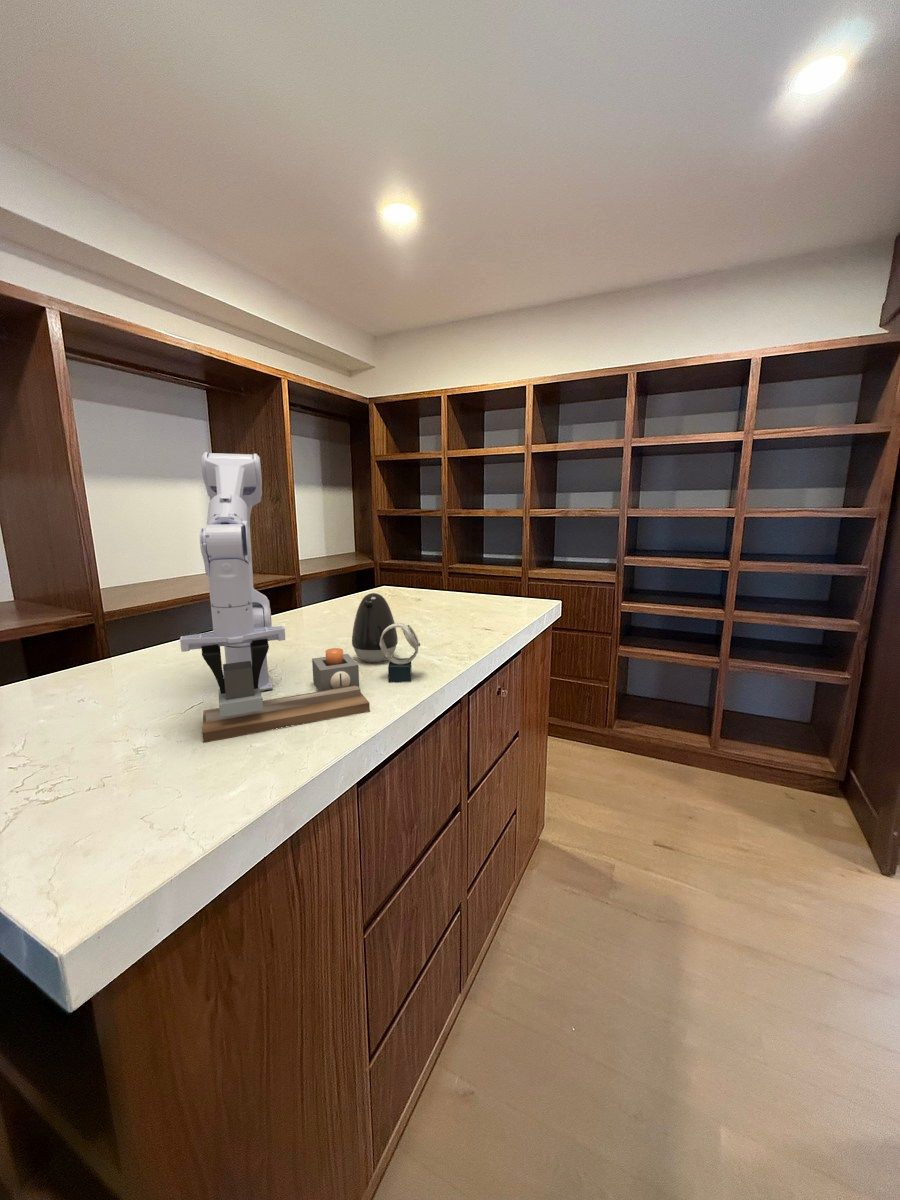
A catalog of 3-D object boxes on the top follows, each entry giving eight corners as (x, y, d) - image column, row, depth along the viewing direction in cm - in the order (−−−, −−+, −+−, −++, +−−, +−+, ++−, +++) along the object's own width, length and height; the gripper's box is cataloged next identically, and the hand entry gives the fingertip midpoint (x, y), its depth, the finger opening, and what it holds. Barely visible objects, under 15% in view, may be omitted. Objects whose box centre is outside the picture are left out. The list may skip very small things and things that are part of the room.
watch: (420, 681, 95) (419, 627, 93) (379, 682, 94) (377, 628, 92) (421, 672, 100) (420, 620, 98) (382, 673, 100) (380, 621, 98)
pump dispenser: (345, 665, 105) (342, 596, 102) (361, 651, 115) (359, 588, 112) (390, 667, 103) (388, 597, 100) (403, 653, 113) (401, 589, 110)
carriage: (219, 701, 78) (215, 662, 76) (259, 694, 80) (256, 657, 79) (220, 717, 71) (216, 675, 70) (263, 710, 74) (260, 669, 73)
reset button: (324, 661, 92) (323, 649, 91) (341, 659, 93) (340, 647, 93) (328, 666, 89) (327, 653, 89) (345, 663, 90) (344, 651, 90)
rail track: (204, 719, 78) (202, 703, 77) (355, 693, 89) (355, 679, 88) (203, 742, 70) (201, 725, 69) (369, 711, 81) (369, 695, 80)
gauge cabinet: (313, 683, 94) (312, 658, 93) (348, 677, 97) (347, 653, 96) (322, 697, 87) (320, 671, 86) (360, 691, 90) (359, 665, 89)
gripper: (175, 613, 66) (185, 706, 69) (285, 604, 72) (291, 689, 75) (178, 604, 72) (187, 690, 75) (279, 597, 79) (285, 676, 81)
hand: (239, 689), depth 75 cm, fingers closed on carriage, 4 cm apart
